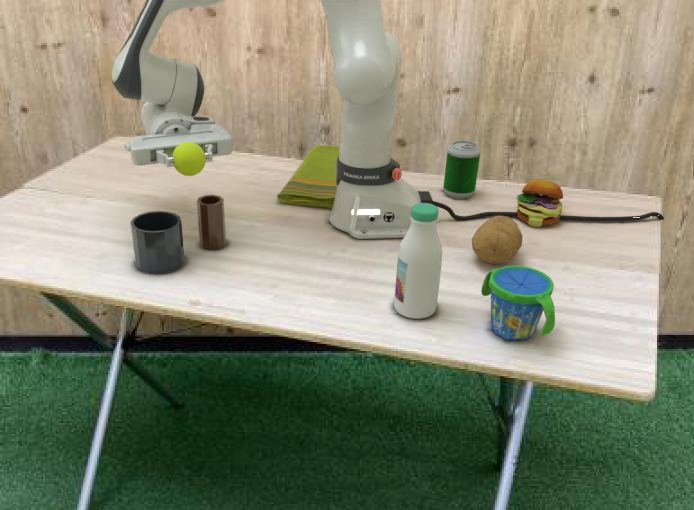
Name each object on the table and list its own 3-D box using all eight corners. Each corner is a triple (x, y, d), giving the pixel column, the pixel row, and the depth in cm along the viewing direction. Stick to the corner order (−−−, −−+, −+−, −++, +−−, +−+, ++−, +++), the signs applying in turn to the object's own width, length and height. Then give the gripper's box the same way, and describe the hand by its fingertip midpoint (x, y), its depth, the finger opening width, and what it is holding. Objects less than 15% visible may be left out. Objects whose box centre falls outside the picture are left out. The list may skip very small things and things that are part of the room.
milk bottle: (441, 303, 145) (453, 203, 134) (428, 324, 139) (440, 220, 128) (401, 294, 148) (410, 195, 137) (387, 313, 142) (395, 212, 131)
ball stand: (227, 239, 166) (225, 195, 160) (222, 251, 161) (220, 206, 156) (203, 237, 166) (200, 193, 161) (197, 249, 162) (194, 204, 156)
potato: (522, 247, 164) (529, 212, 160) (514, 278, 153) (521, 241, 149) (476, 239, 167) (481, 205, 163) (464, 269, 156) (469, 233, 151)
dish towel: (276, 203, 181) (276, 190, 179) (312, 150, 210) (312, 138, 208) (341, 210, 178) (342, 197, 176) (368, 156, 207) (369, 144, 205)
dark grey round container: (189, 252, 161) (186, 212, 156) (177, 275, 153) (173, 233, 148) (143, 249, 162) (139, 209, 157) (129, 272, 154) (124, 230, 149)
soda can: (476, 200, 184) (483, 151, 177) (444, 200, 184) (450, 150, 177) (471, 187, 190) (478, 139, 184) (440, 187, 190) (446, 139, 184)
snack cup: (565, 347, 134) (577, 295, 128) (514, 361, 130) (524, 308, 124) (510, 303, 145) (519, 254, 140) (462, 315, 142) (469, 265, 136)
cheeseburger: (509, 224, 173) (518, 178, 170) (516, 216, 183) (523, 173, 179) (557, 231, 170) (566, 185, 166) (560, 223, 179) (569, 179, 176)
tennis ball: (209, 169, 155) (208, 138, 152) (202, 182, 150) (200, 149, 146) (178, 167, 156) (175, 136, 152) (169, 180, 150) (166, 147, 147)
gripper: (120, 127, 156) (134, 150, 145) (220, 116, 162) (240, 138, 152) (124, 157, 160) (137, 182, 149) (221, 146, 166) (241, 169, 155)
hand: (190, 160), depth 150 cm, fingers closed on tennis ball, 6 cm apart
